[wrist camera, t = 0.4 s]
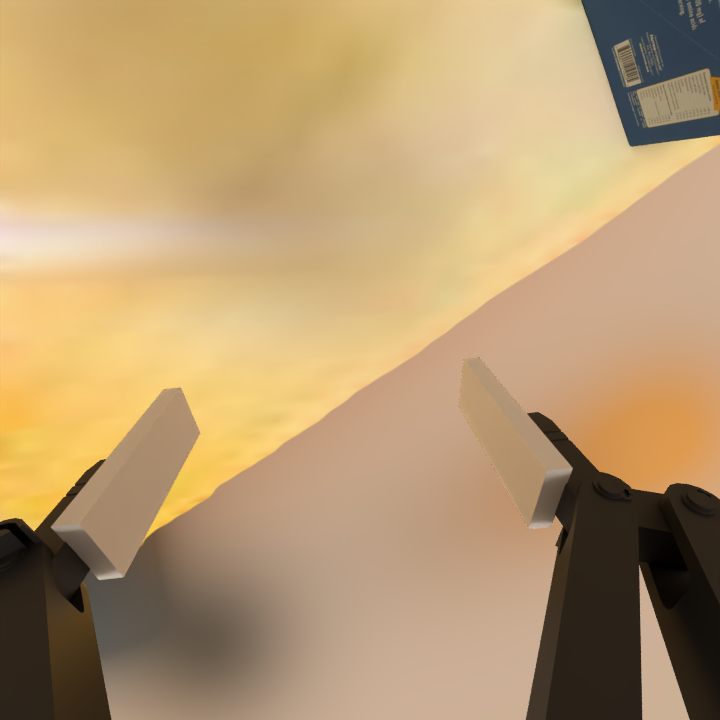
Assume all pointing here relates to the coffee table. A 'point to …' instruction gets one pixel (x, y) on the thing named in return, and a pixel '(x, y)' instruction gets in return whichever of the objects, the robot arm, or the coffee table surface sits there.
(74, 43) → the coffee table surface
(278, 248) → the coffee table surface
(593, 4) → the protein box
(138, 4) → the coffee table surface
